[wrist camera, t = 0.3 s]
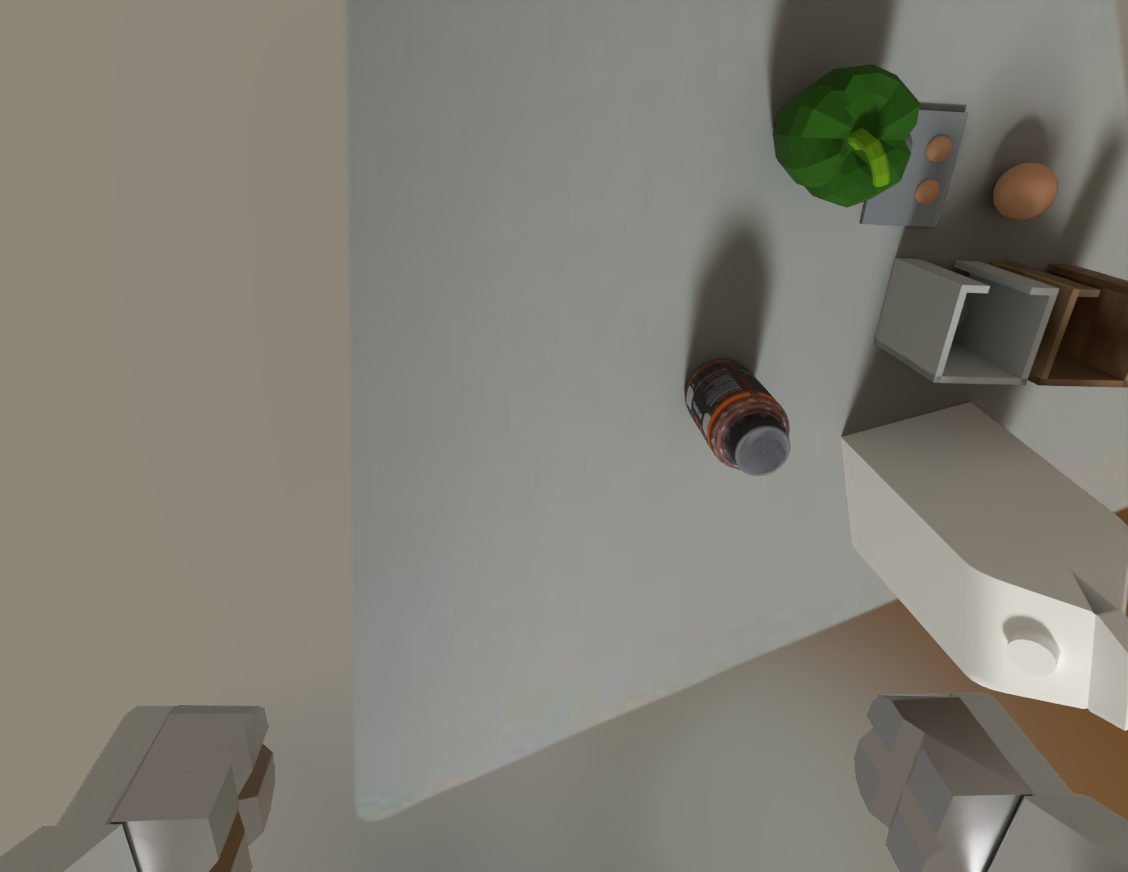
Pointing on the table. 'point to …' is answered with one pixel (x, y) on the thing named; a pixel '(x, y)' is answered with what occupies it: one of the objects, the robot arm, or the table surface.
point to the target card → (921, 174)
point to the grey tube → (987, 336)
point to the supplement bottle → (738, 418)
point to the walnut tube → (1081, 328)
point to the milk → (995, 556)
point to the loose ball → (1025, 191)
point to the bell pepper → (847, 134)
